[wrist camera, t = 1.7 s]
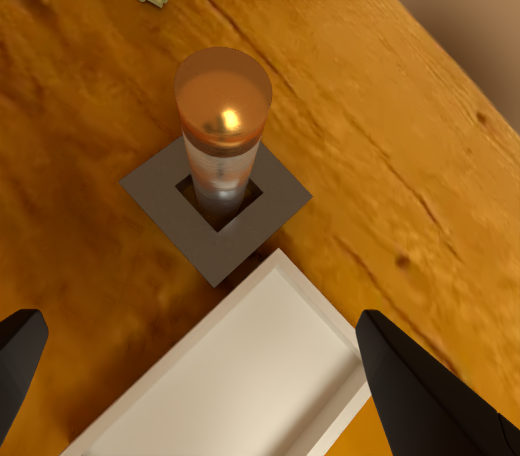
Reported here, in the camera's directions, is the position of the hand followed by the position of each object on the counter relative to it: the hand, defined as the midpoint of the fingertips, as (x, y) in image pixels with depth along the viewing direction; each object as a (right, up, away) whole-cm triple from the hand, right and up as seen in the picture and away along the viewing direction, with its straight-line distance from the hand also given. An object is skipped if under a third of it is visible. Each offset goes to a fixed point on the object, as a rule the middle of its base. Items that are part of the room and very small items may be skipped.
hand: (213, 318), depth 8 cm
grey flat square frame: (-2, +5, +15) cm, 16 cm away
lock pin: (-2, +5, +15) cm, 16 cm away
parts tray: (-1, -9, +12) cm, 15 cm away
